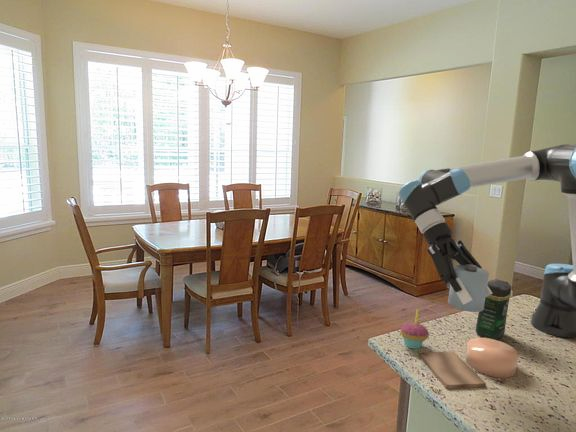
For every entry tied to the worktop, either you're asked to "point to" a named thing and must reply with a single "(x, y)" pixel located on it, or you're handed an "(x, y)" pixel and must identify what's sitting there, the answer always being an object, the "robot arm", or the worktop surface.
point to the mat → (451, 370)
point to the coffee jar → (494, 310)
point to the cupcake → (414, 333)
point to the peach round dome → (491, 357)
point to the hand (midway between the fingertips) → (478, 298)
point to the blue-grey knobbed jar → (470, 287)
